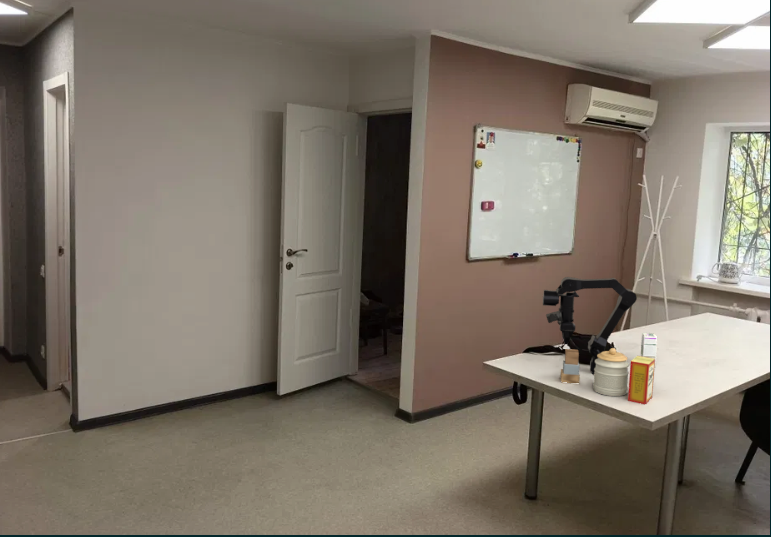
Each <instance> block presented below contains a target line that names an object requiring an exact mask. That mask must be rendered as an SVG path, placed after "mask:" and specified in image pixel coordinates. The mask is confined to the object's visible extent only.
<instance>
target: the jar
mask: <svg viewBox="0 0 771 537" xmlns="http://www.w3.org/2000/svg"><path fill="white" fill-rule="evenodd" d="M597 357H598V358H597V359H596V360H595V363H596V367H595V368H594V370H595V372H594V374H593V383H592V384H593V385H592V387H593V391H594V392H596V393H597V392H598V394H601V395H604V396H608V397H622V396H625V395H627V394H628V391H629V375H630V371H628V370H629V368H630V363H629V362H628V361H627V360H628V357H627V356H626V355H625V354H624V353H622V352H618V351H617V350H616V348H614V347H612V348H610V349H609V350H604V352H601V353H600V354H598V355H597Z"/></svg>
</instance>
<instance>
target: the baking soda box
mask: <svg viewBox="0 0 771 537" xmlns="http://www.w3.org/2000/svg"><path fill="white" fill-rule="evenodd" d="M655 368H656V367H655V359H654V358H648V357H643V356H641V355H637V356H635V357H634V358H633V359H632V360H630V363H629V376H628V391H627V401H628V402H631V403H636V404H640V403H641V405H645V404H646V405H647V404H648V403H649V402H650V401H651V400H650V399H652V398H653V393H654V392H653V391H654V381H655V380H654V379H655ZM649 400H650V401H649Z"/></svg>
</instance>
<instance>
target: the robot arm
mask: <svg viewBox="0 0 771 537" xmlns="http://www.w3.org/2000/svg"><path fill="white" fill-rule="evenodd" d="M585 289H586V290H588V289H613V291H615V293H617V294H618V295H619V296H618V297H617V301H616V304H615V307H614V309H613V310H612V312H611V314H610V315H609V317H608V318H607V320H606V322H605V323H604V325H603V327H601V329H600V331H599V333H598V334H597V335H596V336H595V335H594V334H592V335H591V338H590V340H588V341H587V343H588V345H587V349H588V352H589V353H590V355H591V356H592V357H591V360H590V363H589V371H590V372H591V374H592V375H594V372H595V370H594V368H595V367H596V363H595V360H596V359H597V358H598V357H597V355H598V354H600V353H601V352H604V351H606V346H607V342H608V340H609V338H610V336H611V335H612V333H613V332H614V330H615V328H616V327H617V325H618V324H619V322H620V320H621V319H622V317H623V315H624V314H625V313H626V312H627V311H628V310H629V309H630V308H631V307H632V306H634V304H635V303H636V302H637V300H638V296H637V294H636V293H635V292H634V291H633V290H632V289H630V288H626V287H625V286H624V285H622V284H621V283H620V282H619V281H618V279H616V278H615V277H610V278H585V279H584V278H583V279H582V278H577V277H571V276H565V277H563V278H562V279H561V281H560V284H559V286H558V287H557V288H556V289H555V290H548V289H544V290H543V294H542V306H545V307H546V306H548V307H549V306H550V307H556V306H557V305H559V308H558V310H556V311H553V312H550V313H549V312H548V313H546V314H545V316H546V320H547V322H548V324H551V323H554V322H556V321H557V324H558V325H559V330H560V332H561V335H562V339H563V342H564V345H568V344H569V342H570V340H571V338H572V336H573V335H574V333H575V331H576V324H575V322H574V313H575V310H574V305H575V298H579V297H580V295H579V294H578V292H577V291H581V290H585Z"/></svg>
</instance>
